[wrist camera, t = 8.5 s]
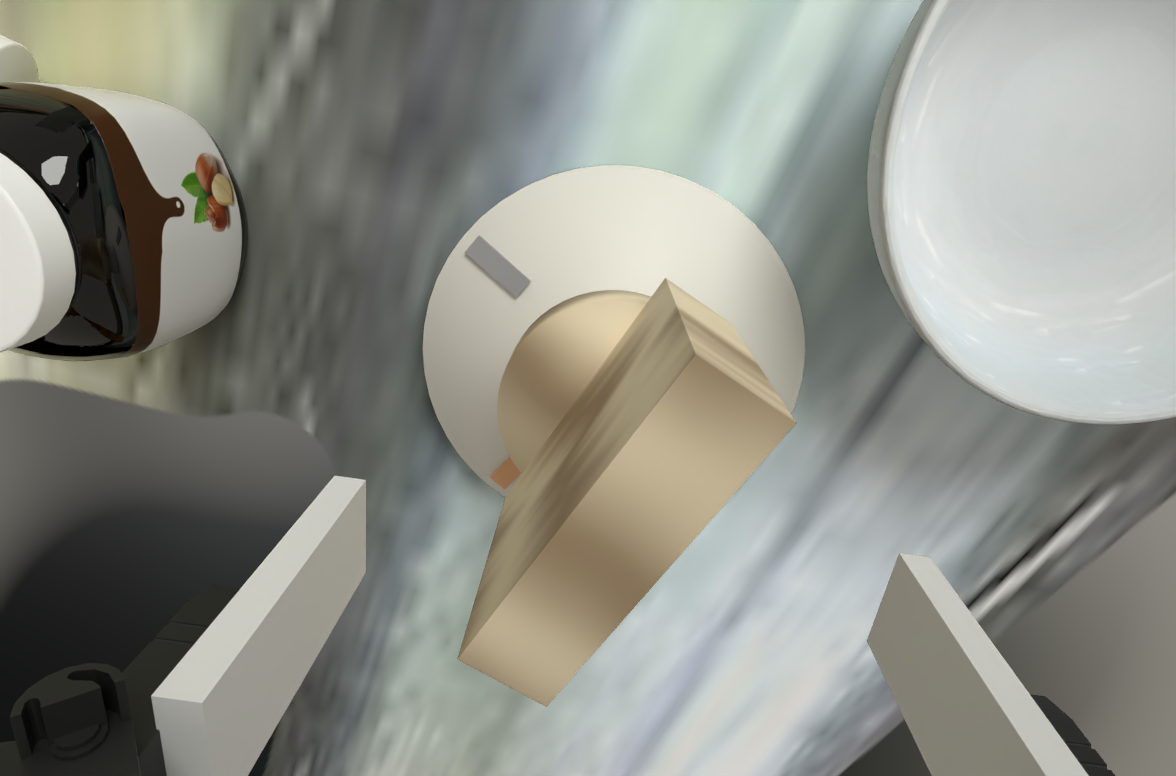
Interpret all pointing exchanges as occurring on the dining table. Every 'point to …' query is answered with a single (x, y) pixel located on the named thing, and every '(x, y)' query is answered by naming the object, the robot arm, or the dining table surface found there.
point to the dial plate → (594, 286)
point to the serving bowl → (1036, 200)
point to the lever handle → (610, 471)
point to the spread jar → (108, 219)
